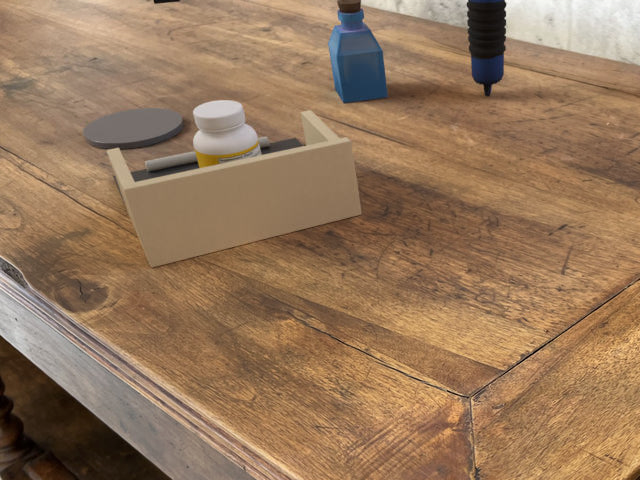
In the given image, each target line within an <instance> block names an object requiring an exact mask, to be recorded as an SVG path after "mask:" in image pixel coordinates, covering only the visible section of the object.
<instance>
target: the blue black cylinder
mask: <svg viewBox="0 0 640 480" xmlns="http://www.w3.org/2000/svg"><path fill="white" fill-rule="evenodd" d="M466 7H467V11H466V17H467V18H468V19H467V21H466V22H467V23H466V25H467V27H468V28H467V35H468V37H467V41H468V43H469V45H468V52H469V53H470V62H471V64H470V65H471V66H470V67H471V76H472V79H473V82H475V84H478V85H480V86H481V85H482V86H483V93H484V96H486V97H490V96H491V95H492V88H493V85H496V84H498V83H500V82H501V81H502V80H503V78H504V75H505V74H504V73H505V52H506V49H507V47H506V45H505V42H506V41H507V36H506V34H507V29H506V26H507V19H506V17H507V11H506V8H507V2H506V0H467V2H466Z"/></svg>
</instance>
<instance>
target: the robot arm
mask: <svg viewBox="0 0 640 480" xmlns="http://www.w3.org/2000/svg"><path fill="white" fill-rule="evenodd" d="M178 2H181V0H153V4H154V5H158V4H168V3H178Z"/></svg>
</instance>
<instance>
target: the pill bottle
mask: <svg viewBox="0 0 640 480" xmlns="http://www.w3.org/2000/svg"><path fill="white" fill-rule="evenodd" d="M192 115H193V119H194V123H195V126H196V127H197V129H198V130H197V132H196V133H195V134H194V136H193V140H192V144H193V149H194V151H195V153H196V157H197V160H198V164H199V167H200V168H204V167H208V166H213V165H218V164H222V163H227V162H232V161H236V160H241V159H246V158H251V157H255V156H260V155H262V154H261V149H260V145H259V140H258V138H259V136H258V134H257V132H256V130H255V129H254V128H253V127H252V126H251V125H248V124H247V123H245V122H246V120H247V119H246V115H245V109H244V106H243V105H242V103H241V102H239V101H235V100H231V99H229V100H228V99H221V100H219V99H218V100H211V101H208V102H203V103H201V104H199V105H198V106H196V107H195V108H194V109H193V110H192Z"/></svg>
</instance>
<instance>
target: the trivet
mask: <svg viewBox="0 0 640 480" xmlns="http://www.w3.org/2000/svg"><path fill="white" fill-rule="evenodd" d="M184 127H185V122H184V118H183V116H182V115H181V113H179V112H178V111H175V110H172V109H168V108H162V107H161V108H160V107H141V108H133V109H126V110H121V111H116V112H111V113H109V114H106V115H103V116H100V117H98V118H96V119H95V120H92V121H90V122H89V123H88V124H87V125H86V126H85V127H84V128H83V129H82V136H83V139H84V141H85V142H86V144H88V145H90V146H91V147H93V148H97V149H104V150H109V149H115V148H119V149H120V150H130V149H137V148H144V147H149V146H152V145H156V144H158V143H162V142H164V141H167V140H169V139H171V138H173V137H176V136H177V135H178V134H179V133H181V131H182V130H183V129H184Z"/></svg>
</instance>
